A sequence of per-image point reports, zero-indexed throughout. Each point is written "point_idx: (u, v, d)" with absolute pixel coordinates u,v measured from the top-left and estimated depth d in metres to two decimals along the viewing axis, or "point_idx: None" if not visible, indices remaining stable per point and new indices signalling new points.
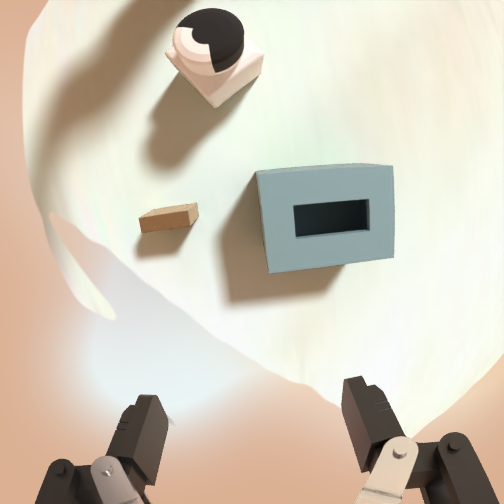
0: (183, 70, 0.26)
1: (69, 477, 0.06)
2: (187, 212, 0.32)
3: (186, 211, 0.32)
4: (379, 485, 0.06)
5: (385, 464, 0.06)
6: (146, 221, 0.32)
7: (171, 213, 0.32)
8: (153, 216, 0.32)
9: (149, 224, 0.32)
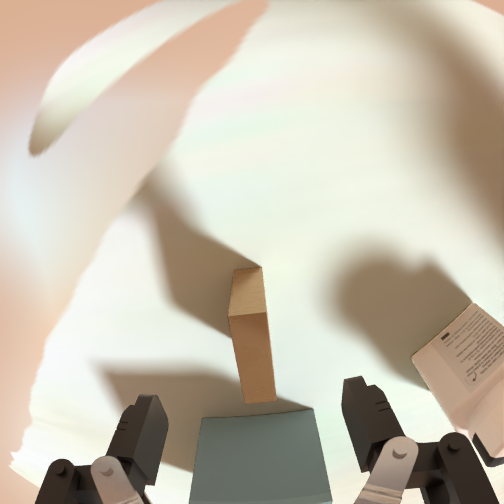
0: (494, 377, 0.14)
1: (69, 477, 0.06)
2: (272, 399, 0.15)
3: (274, 398, 0.15)
4: (379, 485, 0.06)
5: (385, 464, 0.06)
6: (257, 328, 0.14)
7: (272, 375, 0.15)
8: (268, 344, 0.14)
9: (250, 336, 0.14)
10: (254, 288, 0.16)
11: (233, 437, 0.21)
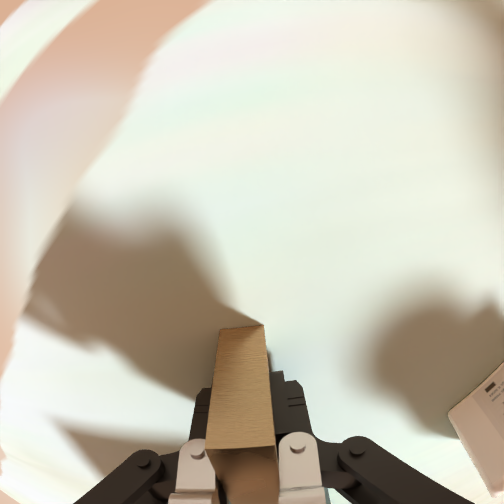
0: None
1: (155, 468, 0.07)
2: None
3: None
4: (294, 482, 0.06)
5: (278, 456, 0.07)
6: (258, 462, 0.06)
7: None
8: (275, 475, 0.07)
9: (245, 469, 0.07)
10: (251, 379, 0.09)
11: None
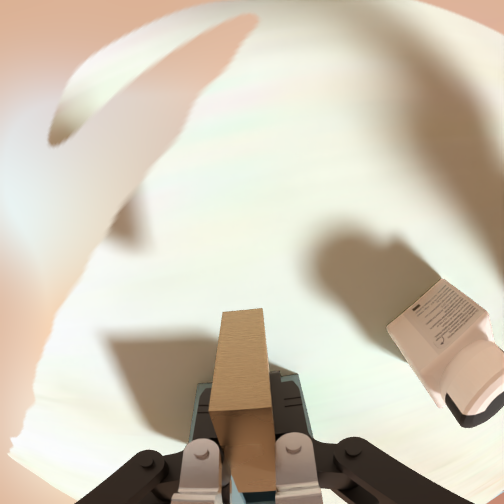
0: (460, 341, 0.18)
1: (160, 469, 0.07)
2: (275, 488, 0.09)
3: None
4: (290, 482, 0.06)
5: None
6: (256, 426, 0.08)
7: None
8: (272, 441, 0.08)
9: (245, 434, 0.08)
10: (251, 353, 0.10)
11: None
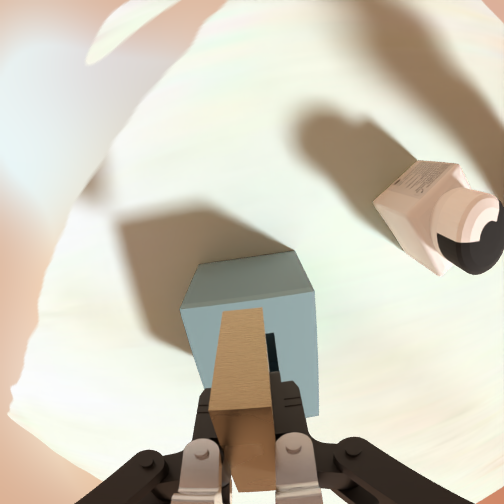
0: (438, 186, 0.21)
1: (160, 469, 0.07)
2: (275, 488, 0.09)
3: None
4: (290, 482, 0.06)
5: None
6: (256, 425, 0.08)
7: None
8: (272, 440, 0.08)
9: (245, 433, 0.08)
10: (251, 352, 0.10)
11: (225, 268, 0.28)
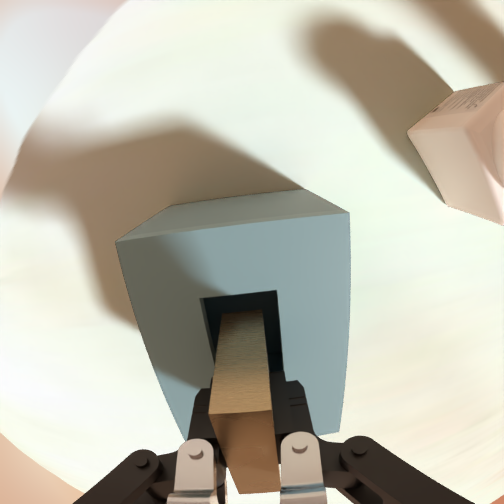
0: (495, 99, 0.12)
1: (154, 468, 0.07)
2: (276, 490, 0.09)
3: (278, 489, 0.09)
4: (295, 482, 0.06)
5: (280, 456, 0.07)
6: (256, 428, 0.08)
7: (276, 470, 0.09)
8: (272, 443, 0.08)
9: (245, 436, 0.08)
10: (251, 355, 0.10)
11: (204, 205, 0.19)
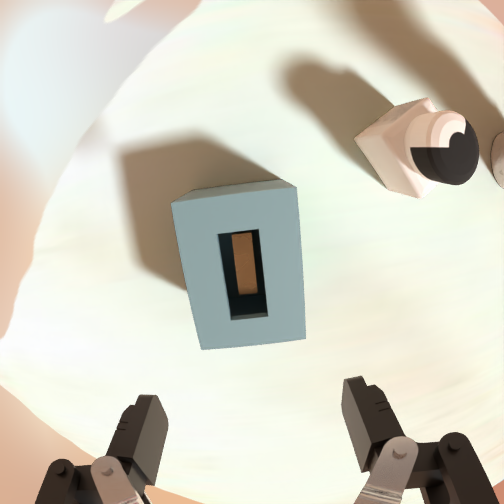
0: (409, 113, 0.23)
1: (69, 477, 0.06)
2: (255, 292, 0.29)
3: (256, 291, 0.29)
4: (379, 485, 0.06)
5: (385, 464, 0.06)
6: (246, 242, 0.27)
7: (254, 273, 0.28)
8: (252, 252, 0.27)
9: (242, 247, 0.27)
10: None
11: (216, 188, 0.30)
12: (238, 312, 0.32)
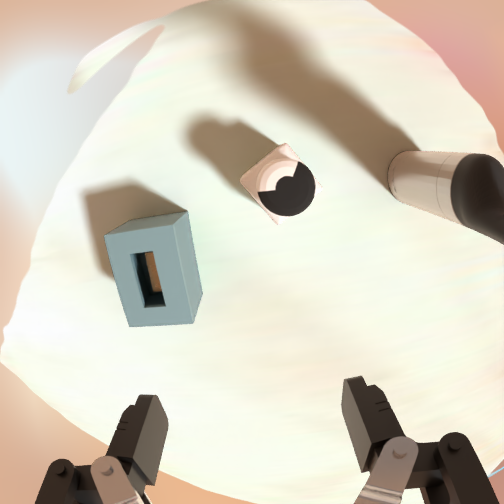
0: (265, 159, 0.36)
1: (69, 477, 0.06)
2: None
3: None
4: (379, 485, 0.06)
5: (385, 464, 0.06)
6: None
7: None
8: None
9: (152, 260, 0.40)
10: None
11: (141, 220, 0.43)
12: (159, 304, 0.45)
